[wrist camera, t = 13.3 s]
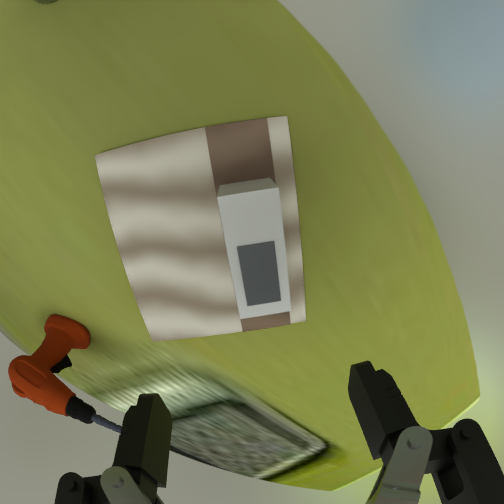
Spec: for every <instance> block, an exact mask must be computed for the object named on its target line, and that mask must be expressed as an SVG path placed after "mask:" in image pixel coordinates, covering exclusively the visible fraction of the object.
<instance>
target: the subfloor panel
mask: <svg viewBox="0 0 504 504" xmlns="http://www.w3.org/2000/svg"><path fill="white" fill-rule="evenodd" d="M95 159H96V164H97V168H98V173H99V178H100V182H101V186H102V191H103V195H104V199H105V203H106V207H107V211H108V214H109V218H110V222H111V225H112V229H113V232H114V236H115V239H116V242H117V246H118V249H119V252H120V255H121V258H122V261H123V264H124V267H125V270H126V273H127V276H128V279H129V282H130V285H131V288H132V290H133V293H134V296H135V298H136V301H137V304H138V306H139V309H140V312H141V314H142V317H143V319H144V322H145V324H146V326H147V329H148V331H149V334H150V336H151V338H152V341H163V340H174V339H184V338H193V337H202V336H210V335H218V334H226V333H233V332H240V331H243V332H245V331H252V330H259V329H265V328H271V327H277V326H283V325H288V324H291V323H295V322H301V321H306V311H305V293H304V277H303V262H302V249H301V237H300V225H299V215H298V204H297V194H296V185H295V176H294V167H293V158H292V150H291V142H290V135H289V127H288V120H287V116H281V117H271V118H262V119H254V120H247V121H240V122H233V123H226V124H220V125H215V126H209V127H204V128H199V129H194V130H189V131H184V132H179V133H175V134H170V135H166V136H162V137H157V138H153V139H149V140H145V141H142V142H138V143H134V144H131V145H127V146H124V147H120V148H117V149H113V150H110V151H107V152H104V153H101V154H97V155H95ZM264 178H271V179H272V181H273V182H274V183H275V184H276V185H277V186H278V187H279V195H280V203H281V212H282V221H283V230H284V239H285V249H286V259H287V269H288V279H289V290H290V302H291V311H288V312H282V313H276V314H270V315H264V316H258V317H251V318H245V319H240V315H239V310H238V305H237V300H236V295H235V290H234V285H233V280H232V275H231V270H230V265H229V260H228V254H227V249H226V244H225V238H224V233H223V228H222V222H221V217H220V211H219V206H218V200H217V194H218V190H219V186H220V185H224V184H231V183H237V182H243V181H250V180H257V179H264Z"/></svg>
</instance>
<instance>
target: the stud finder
mask: <svg viewBox="0 0 504 504" xmlns="http://www.w3.org/2000/svg"><path fill="white" fill-rule="evenodd" d="M217 200H218V206H219V211H220V217H221V222H222V228H223V233H224V238H225V244H226V249H227V254H228V260H229V265H230V270H231V275H232V280H233V285H234V290H235V295H236V300H237V305H238V310H239V315H240V319H245V318H251V317H258V316H264V315H270V314H276V313H282V312H288V311H291V302H290V290H289V279H288V269H287V259H286V249H285V239H284V230H283V221H282V212H281V203H280V195H279V187H278V186H277V185H276V184H275V183H274V182H273V181H272V179H271V178H264V179H257V180H250V181H243V182H237V183H231V184H224V185H220V186H219V190H218V194H217Z"/></svg>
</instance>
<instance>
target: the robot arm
mask: <svg viewBox="0 0 504 504" xmlns="http://www.w3.org/2000/svg"><path fill="white" fill-rule="evenodd" d="M35 1H37V2H38V3H42V4H45V3H50V2H53V1H56V0H35ZM348 393H349V397H350V400H351V403H352V405H353V408H354V410H355V413H356V416H357V418H358V421H359V423H360V426H361V428H362V431H363V434H364V436H365V439H366V441H367V444H368V447H369V449H370V452H371V455H372V457H373V460H375V459H378V458H382V461H383V466H382V469H381V471H380V474H379V476H378V479H377V481H376V483H375V485H374V487H373V490H372V492H371V494H370V496H369V498H368V500H367V502H366V504H418V502H419V499H420V491H419V488H420V485H421V482H422V478H423V475H424V474H428V473H431V474H432V477H433V479H434V482H435V485H436V488H437V491H438V494H439V497H440V499H441V503H442V504H504V475H503V472H502V470H501V468H500V465H499V463H498V461H497V459H496V457H495V455H494V453H493V451H492V449H491V447H490V445H489V443H488V441H487V439H486V437H485V435H484V433H483V431H482V429H481V427H480V425H479V424H478V423H477V422H476V421H474V420H472V419H462V420H460V421H458V422H457V423H456V424H455V425H454V427H453V428H447V429H441V430H428V429H426V428H424V427H421V426H420V425H419V424H418V423H417V421H416V420H415V418H414V416H413V414H412V412H411V410H410V408H409V407H408V405H407V403H406V401H405V399H404V397H403V395H401V392H400V390H399V388H397V385H396V383H395V381H394V379H393V377H392V376H391V375H390V374H388V373H387V372H386V371H385V370H383V369H381V370H377V371H375V369H374V367H373V366H372V364H371V362H370V361H364V362H361V363H357V364H353V365H351V368H350V376H349V384H348ZM122 425H123V427H122V428H121V432H120V433H121V435H120V436H119V440H118V444H117V449H116V453H115V458H114V462H113V465H112V467H110V468H108V469H106V470H105V471H104V472H103V474H102V475H99V476H93V477H84V478H82V477H81V476H80V475H78V474H76V473H73V472H69V473H66V474H64V475H63V476H62V477H61V478H60V480H59V483H58V488H57V493H56V498H55V504H164V503H163V502H162V500H161V499H160V498H159V496H158V495H157V487H165V488H166V481H167V468H168V459H169V450H170V441H171V432H172V417H171V414H170V412H169V410H168V409H167V407H166V405H165V404H164V402H163V400H162V399H161V397H160V395H159V394H157V393H152V394H140V395H139V398H138V402H137V406H131V407H130V408H129V409H128V411H127V412H126V414H125V416H124V420H123V424H122Z"/></svg>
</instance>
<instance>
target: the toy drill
mask: <svg viewBox="0 0 504 504" xmlns="http://www.w3.org/2000/svg"><path fill="white" fill-rule="evenodd" d="M44 329H45V332H46V336H45V339H44V341H43V342H42V344H41V346H40V347H39V348H38V349H37V350H36V351H35V352H34V353H33V355H32V356H27V355H24V356H23V355H21V356H18V357H16V358H15V359H13V360H12V362H11V363H10V365H9V369H8V373H9V377H10V380H11V382H12V387H13V390H14V392H15V393H16V394H17V395H19V396H20V397H24V398H25V397H27V398H28V399H30V400H32V401H33V402H34V403H37V404H39V405H43V406H44V407H45V408H46V409H47V410H49V411H52V412H54V413H57V414H62V415H65V416H70V417H72V418H74V419H78V420H80V421H82V422H84V423H86V424H89V423H90V424H91V423H92V422H93V421H94V422H96V423H97V424H99V425H102V426H104V427H106V428H109V429H112V430H113V431H116V432H119V433H120V432H121V428H122V426H120V425H116V424H115V423H113V422H111V421H109V420H107V419H105V418H104V417H102V416H100V415H96V411H95V409H94V408H93V407H92V406H90V405H89V404H87V403H85V402H83V400H81V399H79V398H77V397H76V394H75V393H73V392H72V391H71V390H70V389H69V388H68V387H67V386H66V385H65V384H64V383H63V382H61V381H60V380H59V379H58V378H57V377H56V376H55V375H54V374H53V373H59V372H60V371H61V370H62V369H64V368H66V367H71V366H72V363H71V361H70V359H69V357H68V355H67V354H68V353H69V351H70V350H71V349H72V348H74V349H87V347H88V345H89V343H90V334H89V332H88V330H87V329H86V328H85V327H84V326H83V325H82V324H80V323H79V322H76V321H74V320H72V319H70V318H67V317H64V316H61V315H51V316H50V317H49V318H48V319H47V321H46V323H45V327H44ZM120 434H121V433H120Z"/></svg>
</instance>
